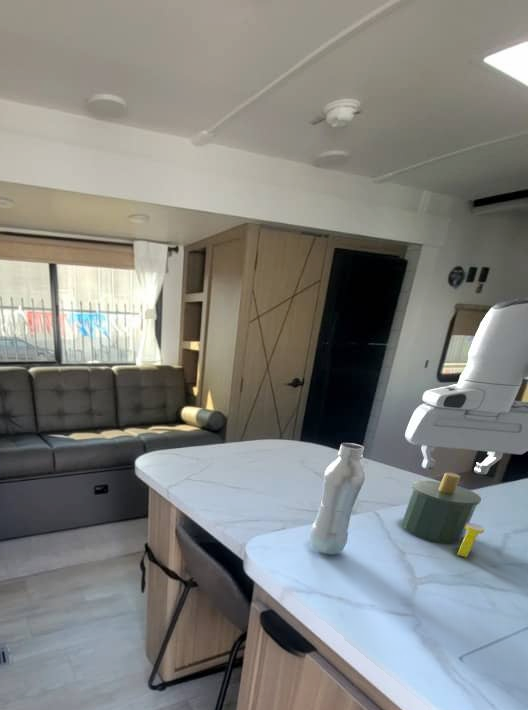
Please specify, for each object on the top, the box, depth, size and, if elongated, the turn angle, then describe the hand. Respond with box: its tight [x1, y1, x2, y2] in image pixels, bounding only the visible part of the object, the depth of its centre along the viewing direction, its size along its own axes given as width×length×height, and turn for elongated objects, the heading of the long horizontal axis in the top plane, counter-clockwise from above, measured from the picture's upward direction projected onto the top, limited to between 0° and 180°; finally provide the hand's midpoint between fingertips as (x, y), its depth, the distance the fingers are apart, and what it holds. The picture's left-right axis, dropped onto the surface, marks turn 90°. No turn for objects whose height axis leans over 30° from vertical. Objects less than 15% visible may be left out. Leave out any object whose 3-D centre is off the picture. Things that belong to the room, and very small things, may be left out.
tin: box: [401, 489, 478, 544], centre depth 83 cm, size 11×11×8 cm
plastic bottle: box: [308, 442, 366, 555], centre depth 72 cm, size 6×7×20 cm
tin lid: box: [412, 472, 482, 506], centre depth 80 cm, size 11×11×5 cm
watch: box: [457, 522, 485, 558], centre depth 75 cm, size 6×3×6 cm, turn 135°
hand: (453, 470), depth 79 cm, fingers open, 8 cm apart
